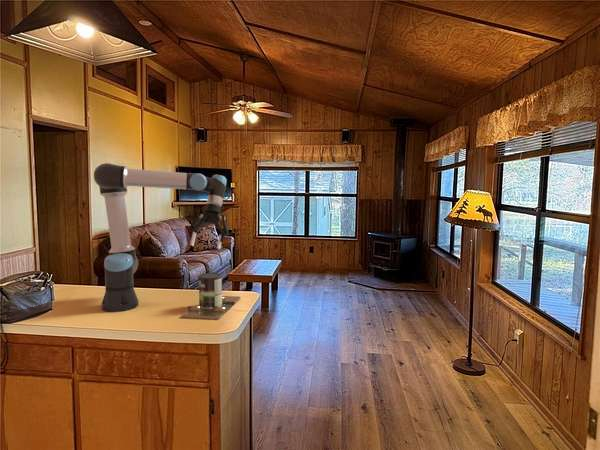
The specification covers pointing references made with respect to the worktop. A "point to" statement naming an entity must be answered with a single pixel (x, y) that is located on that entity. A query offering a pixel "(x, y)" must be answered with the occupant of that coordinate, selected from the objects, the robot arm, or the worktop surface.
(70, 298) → the worktop surface
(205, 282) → the coffee can
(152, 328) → the worktop surface
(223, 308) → the hinge leaves
